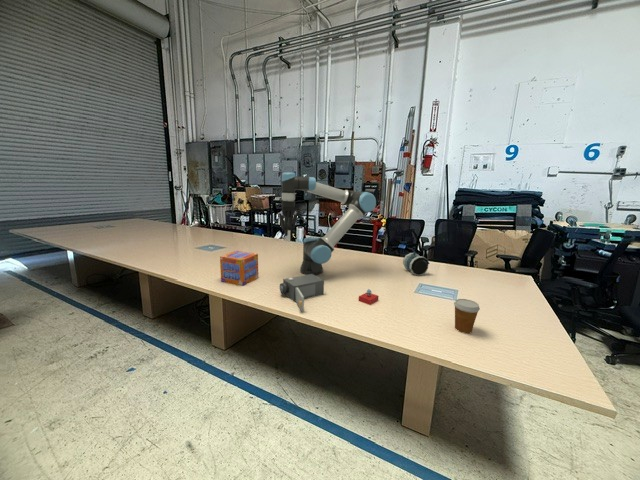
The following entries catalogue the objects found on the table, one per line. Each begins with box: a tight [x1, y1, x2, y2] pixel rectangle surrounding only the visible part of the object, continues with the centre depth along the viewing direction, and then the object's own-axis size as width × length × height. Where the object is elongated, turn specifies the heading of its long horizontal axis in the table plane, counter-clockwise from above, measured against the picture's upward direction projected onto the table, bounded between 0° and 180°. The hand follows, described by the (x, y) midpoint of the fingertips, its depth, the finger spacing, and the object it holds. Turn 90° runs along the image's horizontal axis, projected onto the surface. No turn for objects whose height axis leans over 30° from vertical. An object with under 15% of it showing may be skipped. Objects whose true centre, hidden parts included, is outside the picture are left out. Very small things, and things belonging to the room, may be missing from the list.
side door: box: [294, 287, 305, 312], centre depth 133 cm, size 13×2×7 cm, turn 18°
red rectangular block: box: [358, 289, 380, 306], centre depth 143 cm, size 8×7×6 cm
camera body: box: [279, 274, 325, 302], centre depth 148 cm, size 21×12×9 cm, turn 124°
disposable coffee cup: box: [453, 298, 481, 334], centre depth 116 cm, size 10×10×12 cm
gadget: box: [402, 251, 430, 276], centre depth 190 cm, size 14×13×15 cm
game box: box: [219, 250, 259, 287], centre depth 166 cm, size 16×16×16 cm
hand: (288, 241), depth 164 cm, fingers closed
